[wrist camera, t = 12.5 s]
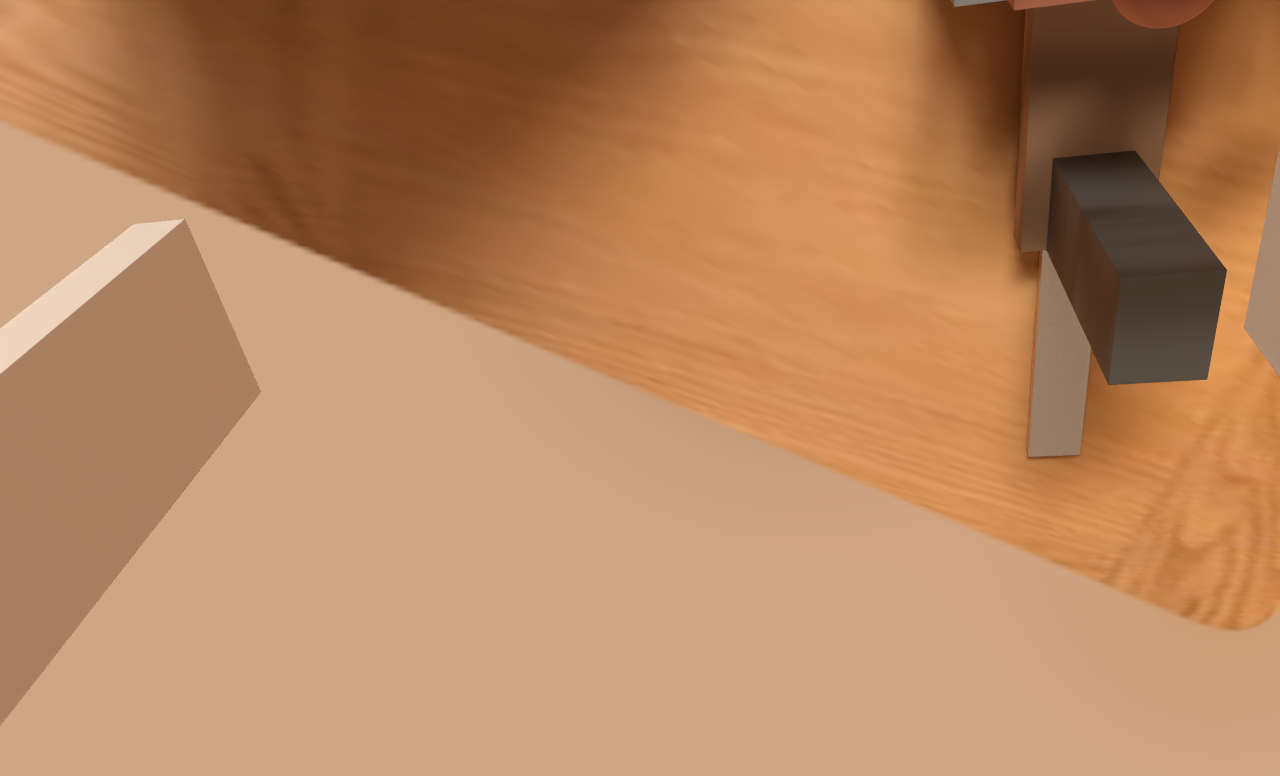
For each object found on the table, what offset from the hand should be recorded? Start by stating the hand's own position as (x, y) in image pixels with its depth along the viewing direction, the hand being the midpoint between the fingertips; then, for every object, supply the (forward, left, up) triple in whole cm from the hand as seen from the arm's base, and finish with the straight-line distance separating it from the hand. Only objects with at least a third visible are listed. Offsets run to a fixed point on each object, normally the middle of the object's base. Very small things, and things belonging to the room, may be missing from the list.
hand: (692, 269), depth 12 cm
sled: (+12, -8, -30) cm, 33 cm away
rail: (+12, -19, -31) cm, 38 cm away
